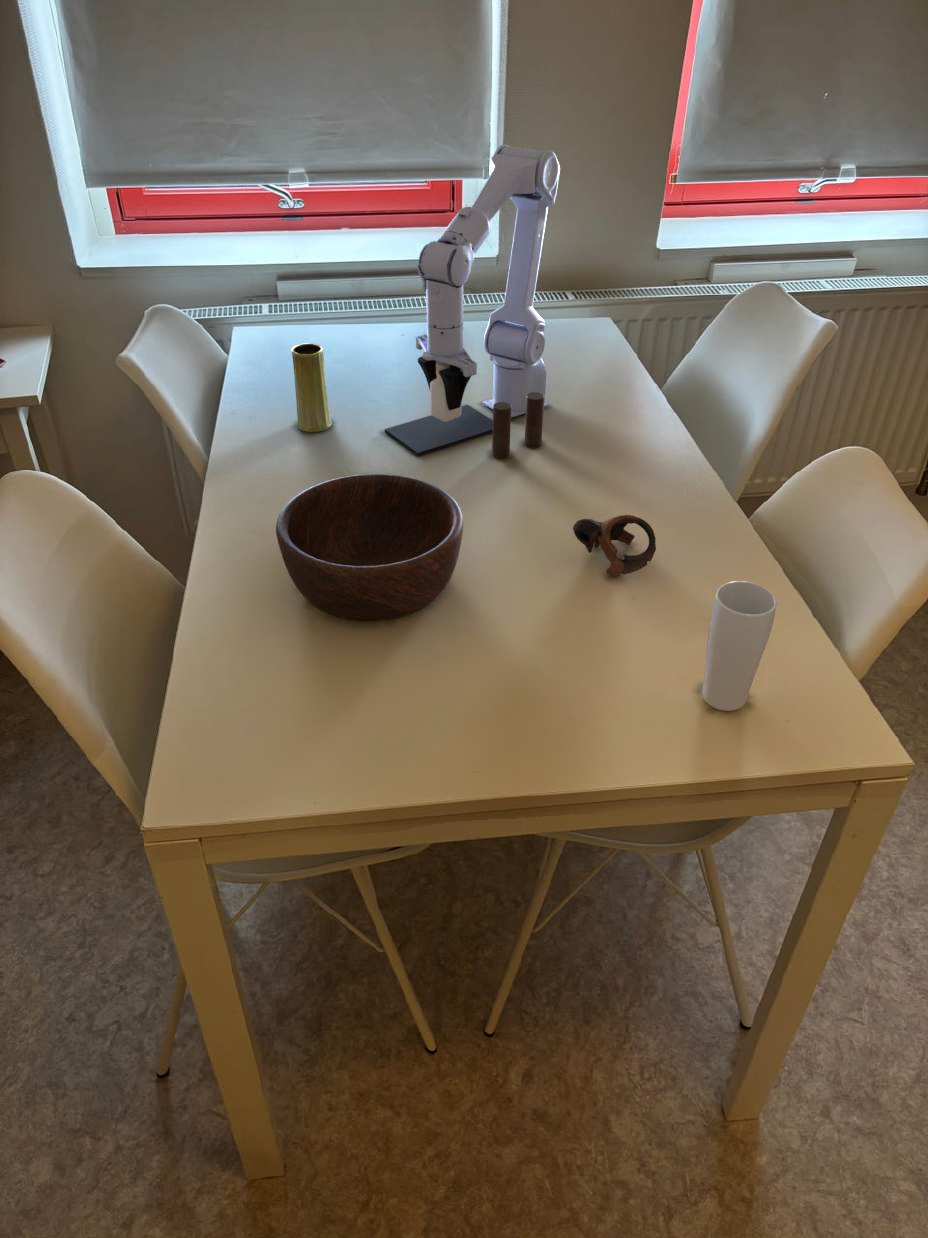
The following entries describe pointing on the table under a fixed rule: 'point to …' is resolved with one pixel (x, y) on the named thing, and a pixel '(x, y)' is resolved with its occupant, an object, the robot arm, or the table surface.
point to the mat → (441, 431)
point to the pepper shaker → (441, 398)
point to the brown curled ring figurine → (614, 530)
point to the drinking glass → (736, 642)
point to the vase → (310, 388)
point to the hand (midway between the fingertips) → (445, 402)
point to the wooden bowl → (370, 544)
